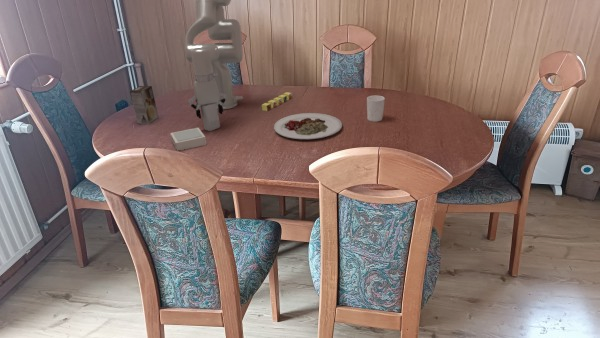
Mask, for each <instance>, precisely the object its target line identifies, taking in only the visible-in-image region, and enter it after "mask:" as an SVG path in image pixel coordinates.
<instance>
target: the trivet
mask: <svg viewBox="0 0 600 338" xmlns="http://www.w3.org/2000/svg"><path fill="white" fill-rule="evenodd" d="M169 134H170V138H171V142H172V143H173V146H174V147H175V149H177V150H176V152H179V151H178V150H181V151H185V150H189V149H193V148H197V147H203V146H207V139H206V136H205V134H204V133H203V132H202V130H201V129H200V128H199V127H195V128H189V129H184V130H180V131H179V130H178V131H175V132H174V131H173V132H170V133H169ZM184 149H185V150H184Z"/></svg>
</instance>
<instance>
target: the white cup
mask: <svg viewBox="0 0 600 338" xmlns="http://www.w3.org/2000/svg"><path fill="white" fill-rule="evenodd" d="M385 99H386V98H385V97H384V96H382V95H369V96H367V97H366V113H367V116H366V117H367V121H369V122H375V123H376V122H381V121H382V120H383V116H384V109H385Z"/></svg>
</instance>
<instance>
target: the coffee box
mask: <svg viewBox="0 0 600 338" xmlns="http://www.w3.org/2000/svg"><path fill="white" fill-rule="evenodd" d="M129 94H130V98H131V102H132V105H133V110H134V113H135V117H136V121H137V124H139V125H149V124H151V123H153V122H154V121H155V120H157V119H158V118H159V114H158V113H159V112H158V108H157V103H156V100H155V96H154V91H153V87H152V85H139V86H137V87H135V88H134V89H132V90H130V91H129Z"/></svg>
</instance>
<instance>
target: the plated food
mask: <svg viewBox="0 0 600 338" xmlns="http://www.w3.org/2000/svg"><path fill="white" fill-rule="evenodd" d="M342 123H343V122H342V121H341V120H340V119H339V118H338V117H335V116H333V115H330V114H325V113H319V112H306V113H305V112H302V113H296V114H291V115H287V116H285V117H283V118H280V119H278V120H277V121H276V122H275V123H274V125H273V130H274V131H275V132H276V134H277V135H280V136H282V137H285V138H288V139H294V140H295V139H296V140H315V139H323V138H325V137H326V138H327V137H330V136H332V135H335V134H337V133H338V132H339V131H340V130H341V129H342V127H343V124H342Z"/></svg>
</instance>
